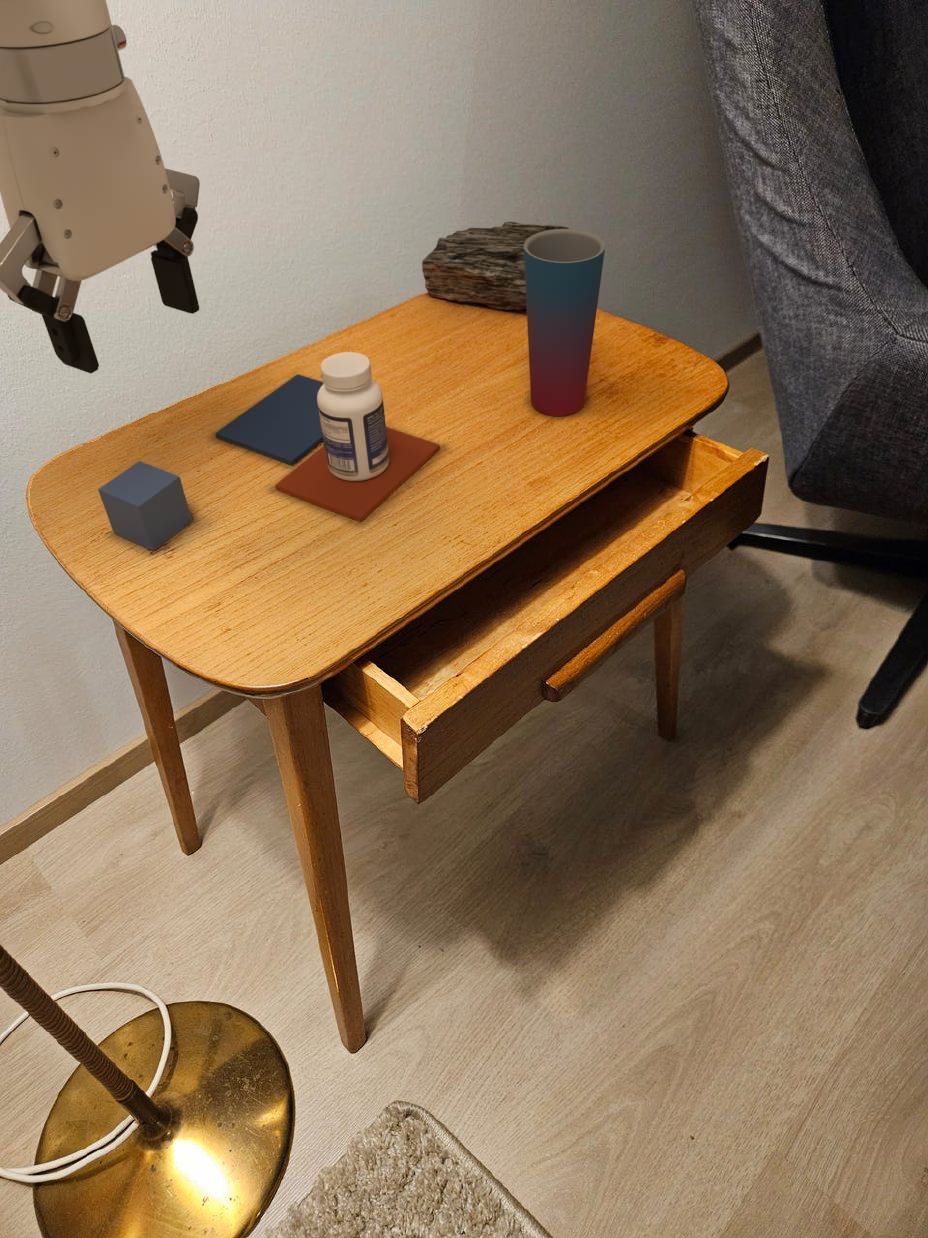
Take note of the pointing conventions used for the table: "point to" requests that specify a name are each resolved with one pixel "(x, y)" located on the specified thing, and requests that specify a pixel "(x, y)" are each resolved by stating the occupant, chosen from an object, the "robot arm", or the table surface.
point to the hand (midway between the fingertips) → (133, 336)
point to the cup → (561, 315)
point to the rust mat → (358, 496)
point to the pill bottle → (352, 418)
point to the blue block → (146, 505)
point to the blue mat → (280, 422)
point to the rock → (482, 265)
